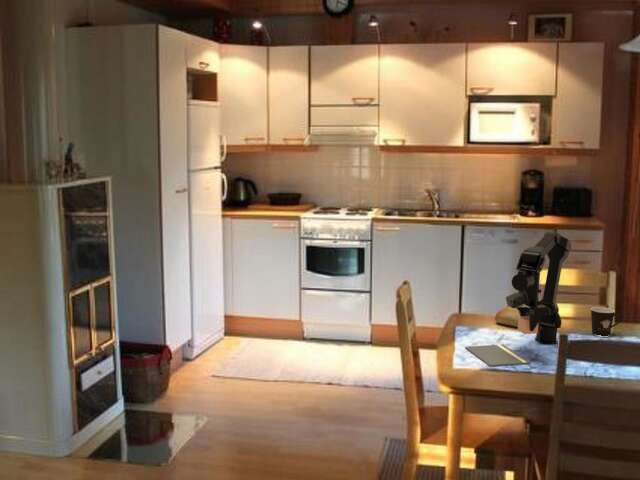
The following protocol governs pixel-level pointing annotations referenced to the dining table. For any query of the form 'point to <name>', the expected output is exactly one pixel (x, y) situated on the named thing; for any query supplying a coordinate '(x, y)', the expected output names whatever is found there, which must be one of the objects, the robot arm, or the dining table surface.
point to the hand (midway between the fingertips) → (527, 328)
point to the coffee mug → (603, 320)
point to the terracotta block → (526, 325)
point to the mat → (497, 355)
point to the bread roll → (508, 316)
